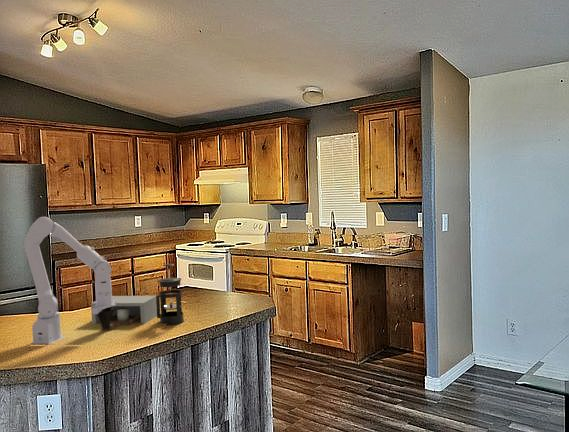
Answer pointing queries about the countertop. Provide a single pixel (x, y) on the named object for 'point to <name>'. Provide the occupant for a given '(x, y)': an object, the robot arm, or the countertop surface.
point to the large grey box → (133, 307)
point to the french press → (170, 316)
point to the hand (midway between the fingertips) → (105, 328)
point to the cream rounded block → (123, 314)
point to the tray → (115, 322)
